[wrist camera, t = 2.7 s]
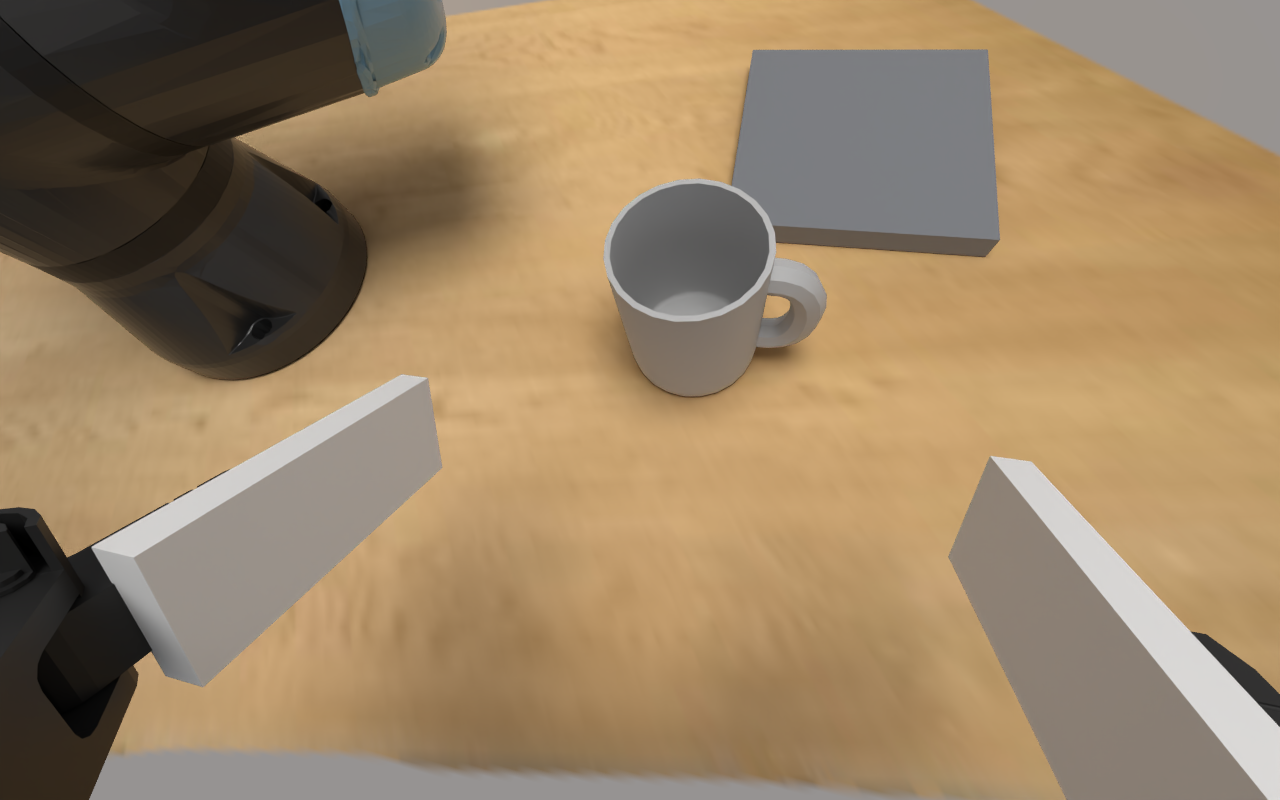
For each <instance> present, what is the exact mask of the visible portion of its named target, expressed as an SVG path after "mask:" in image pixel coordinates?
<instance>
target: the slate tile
mask: <svg viewBox="0 0 1280 800" xmlns="http://www.w3.org/2000/svg"><path fill="white" fill-rule="evenodd" d="M732 186H733V187H735V188H738V189H740V190H742V191H743V192H744V193H746V194H747V195H749V196H750V197H752V198H753V199H754V200H756V201H757V203H758V204H759V205H760V206H761V207H762V209H763V210H764V211H765V212H766V213H767V215H768V217H769V219H770V222H771V224H772V227H773V229H774V232H775V241H776V242H780V243H795V244H809V245H823V246H838V247H852V248H867V249H881V250H895V251H910V252H924V253H939V254H953V255H967V256H982V257H986V255H987V254H988V253H989V252H990V251H991V250H992V248H993V247H994V246H995V245H996V244H997V243H998V241H999V240H1000V234H999V218H998V202H997V187H996V171H995V155H994V139H993V124H992V108H991V92H990V76H989V61H988V50H753V53H752V60H751V66H750V72H749V79H748V85H747V91H746V98H745V104H744V110H743V117H742V123H741V129H740V136H739V142H738V148H737V155H736V161H735V167H734V174H733V180H732Z"/></svg>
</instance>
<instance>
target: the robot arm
mask: <svg viewBox="0 0 1280 800" xmlns="http://www.w3.org/2000/svg"><path fill="white" fill-rule="evenodd" d="M446 34H447V30H446V18H445V13H444V8H443V3H442V0H0V252H2V253H4V254H6V255H9V256H11V257H13V258H15V259H18V260H20V261H22V262H25V263H27V264H29V265H31V266H34V267H36V268H38V269H40V270H42V271H44V272H46V273H48V274H51V275H53V276H55V277H57V278H59V279H61V280H63V281H65V282H67V283H69V284H71V285H73V286H75V287H76V288H78V289H79V290H80V291H81V292H82V293H83V294H85V295H86V296H87V297H88V298H89V299H91V300H92V301H93V302H94V303H95V304H97V305H98V306H99V307H100V308H101V309H103V310H104V311H105V312H106V313H107V314H109V315H110V316H111V317H112V318H113V319H115V320H116V321H117V322H118V323H119V324H121V325H122V326H123V327H124V328H125V329H126V330H128V331H129V332H130V333H131V334H132V335H134V336H135V337H136V338H137V339H138V340H140V341H141V342H142V343H143V344H144V345H146V346H147V347H148V348H149V349H150V350H152V351H153V352H154V353H156V354H157V355H159V356H160V357H162V358H164V359H166V360H167V361H169V362H172V363H174V364H176V365H179V366H181V367H184V368H186V369H189V370H191V371H194V372H196V373H198V374H201V375H203V376H207V377H210V378H215V379H224V380H234V379H244V378H250V377H255V376H259V375H262V374H265V373H268V372H271V371H274V370H276V369H279V368H281V367H283V366H285V365H287V364H289V363H291V362H292V361H294V360H296V359H298V358H299V357H301V356H302V355H304V354H305V353H307V352H308V351H309V350H311V349H312V348H313V347H315V346H316V345H317V344H318V343H319V342H320V341H322V340H323V339H324V338H325V337H326V336H327V335H328V334H329V333H330V332H331V331H332V330H333V329H334V328H335V326H336V325H337V324H338V323H339V322H340V320H341V319H342V318H343V316H344V315H345V314H346V312H347V311H348V309H349V308H350V306H351V304H352V303H353V301H354V299H355V297H356V295H357V293H358V291H359V288H360V285H361V283H362V280H363V276H364V272H365V267H366V257H367V254H366V243H365V238H364V235H363V232H362V229H361V227H360V225H359V224H358V222H357V221H356V219H355V218H354V217H353V216H352V215H351V213H350V212H349V211H348V210H347V209H346V208H345V207H344V206H343V205H342V204H341V203H340V202H339V201H338V200H337V199H336V198H335V197H334V196H333V195H332V194H331V193H330V192H328V191H327V190H326V189H324V188H323V187H322V186H320V185H319V184H317V183H315V182H313V181H312V180H310V179H308V178H306V177H304V176H303V175H301V174H299V173H297V172H295V171H294V170H292V169H290V168H288V167H286V166H284V165H283V164H281V163H279V162H277V161H275V160H274V159H272V158H270V157H268V156H266V155H265V154H263V153H261V152H259V151H257V150H256V149H254V148H252V147H250V146H248V145H247V144H245V143H243V142H241V141H239V140H238V139H236V138H235V137H237V136H239V135H242V134H245V133H248V132H251V131H254V130H257V129H260V128H263V127H266V126H269V125H272V124H275V123H278V122H281V121H284V120H286V119H289V118H292V117H295V116H298V115H301V114H304V113H307V112H310V111H313V110H316V109H319V108H322V107H325V106H328V105H331V104H334V103H336V102H339V101H342V100H345V99H348V98H351V97H354V96H357V95H360V94H363V93H365V94H366V95H367V96H368V97H371V96H375V95H376V94H377V93H378V91H379V88H380V87H383V86H385V85H387V84H390V83H392V82H395V81H397V80H400V79H402V78H405V77H407V76H410V75H412V74H415V73H417V72H420V71H422V70H425V69H427V68H429V67H430V66H431V65H433V64H434V63H435V62H436V61H437V60H438V59H439V57H440V56H441V54H442V52H443V49H444V46H445V42H446ZM441 468H442V463H441V456H440V450H439V444H438V438H437V431H436V425H435V419H434V413H433V406H432V400H431V394H430V388H429V381H428V378H425V377H418V376H410V375H403V374H401V375H400V376H398V377H396V378H394V379H392V380H391V381H389V382H387V383H385V384H383V385H382V386H380V387H378V388H376V389H374V390H373V391H371V392H369V393H367V394H365V395H364V396H362V397H360V398H358V399H356V400H355V401H353V402H351V403H349V404H347V405H346V406H344V407H342V408H340V409H338V410H337V411H335V412H333V413H331V414H329V415H328V416H326V417H324V418H322V419H320V420H319V421H317V422H315V423H313V424H311V425H310V426H308V427H306V428H304V429H302V430H301V431H299V432H297V433H295V434H293V435H292V436H290V437H288V438H286V439H284V440H283V441H281V442H279V443H277V444H275V445H274V446H272V447H270V448H268V449H266V450H265V451H263V452H261V453H259V454H257V455H256V456H254V457H252V458H250V459H248V460H247V461H245V462H243V463H241V464H239V465H238V466H236V467H234V468H232V469H229V470H227V471H224V472H223V473H221V474H219V475H217V476H215V477H214V478H212V479H210V480H208V481H206V482H204V483H203V484H201V485H199V486H197V488H196V489H194V490H190V491H188V492H186V493H185V494H183V495H181V496H179V497H177V498H176V499H174V501H173V502H171V503H167V504H165V505H163V506H161V507H159V508H157V509H156V510H154V511H152V512H150V513H148V514H147V515H145V516H143V517H141V518H139V519H138V520H136V521H134V522H132V523H130V524H129V525H127V526H125V527H123V528H121V529H120V530H118V531H116V532H114V533H112V534H110V535H109V536H107V537H105V538H103V539H101V540H100V541H98V542H96V543H94V544H92V545H91V546H89V547H87V548H85V549H83V550H82V551H80V552H78V553H76V554H74V555H72V556H70V557H68V558H67V557H66V555H65V554H64V552H63V551H62V549H61V547H60V546H59V544H58V542H57V541H56V539H55V538H54V536H53V534H52V533H51V531H50V529H49V528H48V526H47V525H46V523H45V521H44V520H43V518H42V517H41V515H40V514H39V513H38V512H37V511H36V510H35V509H28V508H20V507H18V508H9V509H0V800H89V798H90V796H91V794H92V791H93V789H94V786H95V784H96V782H97V779H98V777H99V774H100V772H101V770H102V767H103V765H104V763H105V760H106V758H107V755H108V753H109V751H110V748H111V746H112V744H113V741H114V739H115V736H116V734H117V732H118V729H119V727H120V724H121V722H122V720H123V717H124V715H125V713H126V710H127V708H128V705H129V703H130V701H131V698H132V696H133V694H134V691H135V689H136V686H137V681H138V672H137V671H136V669H135V668H134V666H133V665H134V664H135V663H137V662H138V661H139V660H140V659H142V658H143V657H144V656H146V655H147V654H148V653H149V652H152V653H153V655H154V657H155V658H156V660H157V662H158V664H159V665H160V667H161V669H162V671H163V672H164V674H165V676H167V677H171V678H174V679H177V680H181V681H184V682H187V683H191V684H194V685H198V686H201V687H204V686H205V685H206V684H207V683H208V682H209V681H210V680H212V679H213V678H214V677H215V676H216V675H217V674H218V673H219V672H220V671H221V670H222V669H224V668H225V667H226V666H227V665H228V664H229V663H230V662H231V661H232V660H233V659H234V658H236V657H237V656H238V655H239V654H240V653H241V652H242V651H243V650H244V649H245V648H246V647H248V646H249V645H250V644H251V643H252V642H253V641H254V640H255V639H256V638H257V637H258V636H260V635H261V634H262V633H263V632H264V631H265V630H266V629H267V628H268V627H269V626H270V625H271V624H273V623H274V622H275V621H276V620H277V619H278V618H279V617H280V616H281V615H282V614H283V613H285V612H286V611H287V610H288V609H289V608H290V607H291V606H292V605H293V604H294V603H295V602H297V601H298V600H299V599H300V598H301V597H302V596H303V595H304V594H305V593H306V592H307V591H309V590H310V589H311V588H312V587H313V586H314V585H315V584H316V583H317V582H318V581H319V580H321V579H322V578H323V577H324V576H325V575H326V574H327V573H328V572H329V571H330V570H331V569H332V568H334V567H335V566H336V565H337V564H338V563H339V562H340V561H341V560H342V559H343V558H344V557H346V556H347V555H348V554H349V553H350V552H351V551H352V550H353V549H354V548H355V547H356V546H358V545H359V544H360V543H361V542H362V541H363V540H364V539H365V538H366V537H367V536H368V535H370V534H371V533H372V532H373V531H374V530H375V529H376V528H377V527H378V526H379V525H380V524H382V523H383V522H384V521H385V520H386V519H387V518H388V517H389V516H390V515H391V514H392V513H393V512H395V511H396V510H397V509H398V508H399V507H400V506H401V505H402V504H403V503H404V502H405V501H407V500H408V499H409V498H410V497H411V496H412V495H413V494H414V493H415V492H416V491H417V490H419V489H420V488H421V487H422V486H423V485H424V484H425V483H426V482H427V481H428V480H429V479H431V478H432V477H433V476H434V475H435V474H436V473H437V472H438V471H439V470H440V469H441ZM948 557H949V559H950V561H951V563H952V565H953V567H954V569H955V571H956V573H957V575H958V577H959V580H960V582H961V584H962V586H963V588H964V590H965V592H966V594H967V596H968V598H969V600H970V602H971V604H972V606H973V608H974V610H975V612H976V614H977V617H978V619H979V621H980V623H981V625H982V627H983V629H984V631H985V633H986V635H987V637H988V639H989V641H990V643H991V645H992V647H993V649H994V651H995V654H996V656H997V658H998V660H999V662H1000V664H1001V666H1002V668H1003V670H1004V672H1005V674H1006V676H1007V678H1008V680H1009V682H1010V684H1011V686H1012V688H1013V690H1014V693H1015V695H1016V697H1017V699H1018V701H1019V703H1020V705H1021V707H1022V709H1023V711H1024V713H1025V715H1026V717H1027V719H1028V721H1029V723H1030V725H1031V727H1032V730H1033V732H1034V734H1035V736H1036V738H1037V740H1038V742H1039V744H1040V746H1041V748H1042V750H1043V752H1044V754H1045V756H1046V758H1047V760H1048V762H1049V764H1050V767H1051V769H1052V771H1053V773H1054V775H1055V777H1056V779H1057V781H1058V783H1059V785H1060V787H1061V789H1062V791H1063V793H1064V795H1065V797H1066V799H1067V800H1280V694H1279V693H1278V692H1277V691H1276V690H1275V689H1274V688H1273V687H1272V686H1271V685H1270V684H1269V683H1268V682H1267V681H1266V680H1265V679H1264V678H1263V677H1262V676H1261V675H1260V674H1259V673H1258V672H1257V671H1256V670H1255V669H1254V668H1252V667H1251V666H1249V665H1248V664H1247V663H1245V662H1244V661H1242V660H1241V659H1240V658H1238V657H1237V656H1236V655H1234V654H1233V653H1231V652H1230V651H1229V650H1227V649H1226V648H1224V647H1223V646H1222V645H1220V644H1219V643H1218V642H1216V641H1215V640H1213V639H1212V638H1211V637H1209V636H1208V635H1206V634H1202V633H1196V632H1191V631H1189V630H1188V629H1187V628H1186V626H1185V625H1184V624H1183V623H1182V622H1181V621H1180V620H1179V619H1178V618H1177V617H1176V616H1175V615H1174V614H1173V613H1172V612H1171V610H1170V609H1169V608H1168V607H1167V606H1166V605H1165V604H1164V603H1163V602H1162V601H1161V600H1160V599H1159V598H1158V597H1157V595H1156V594H1155V593H1154V592H1153V591H1152V590H1151V589H1150V588H1149V587H1148V586H1147V585H1146V584H1145V583H1144V582H1143V581H1142V579H1141V578H1140V577H1139V576H1138V575H1137V574H1136V573H1135V572H1134V571H1133V570H1132V569H1131V568H1130V567H1129V566H1128V565H1127V563H1126V562H1125V561H1124V560H1123V559H1122V558H1121V557H1120V556H1119V555H1118V554H1117V553H1116V552H1115V551H1114V550H1113V548H1112V547H1111V546H1110V545H1109V544H1108V543H1107V542H1106V541H1105V540H1104V539H1103V538H1102V537H1101V536H1100V535H1099V534H1098V532H1097V531H1096V530H1095V529H1094V528H1093V527H1092V526H1091V525H1090V524H1089V523H1088V522H1087V521H1086V520H1085V519H1084V517H1083V516H1082V515H1081V514H1080V513H1079V512H1078V511H1077V510H1076V509H1075V508H1074V507H1073V506H1072V505H1071V504H1070V503H1069V501H1068V500H1067V499H1066V498H1065V497H1064V496H1063V495H1062V494H1061V493H1060V492H1059V491H1058V490H1057V489H1056V488H1055V486H1054V485H1053V484H1052V483H1051V482H1050V481H1049V480H1048V479H1047V478H1046V477H1045V476H1044V475H1043V474H1042V473H1041V472H1040V470H1039V469H1038V468H1037V467H1036V466H1035V465H1034V464H1033V463H1032V462H1030V461H1023V460H1016V459H1009V458H1002V457H994V456H990V457H989V460H988V462H987V464H986V467H985V469H984V472H983V474H982V476H981V479H980V481H979V484H978V486H977V489H976V491H975V493H974V496H973V498H972V501H971V503H970V505H969V508H968V510H967V513H966V515H965V518H964V520H963V522H962V525H961V527H960V530H959V532H958V534H957V537H956V539H955V542H954V544H953V547H952V549H951V551H950V554H949V556H948Z"/></svg>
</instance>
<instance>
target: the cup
mask: <svg viewBox="0 0 1280 800" xmlns="http://www.w3.org/2000/svg"><path fill="white" fill-rule="evenodd" d="M775 255H776V241H775V232H774V229H773V227H772V224H771V222H770V219H769V217H768V215H767V213H766V212H765V211H764V210H763V209H762V207H761V206H760V205H759V204H758V203H757V201H756V200H754V199H753V198H752V197H750V196H749V195H747V194H746V193H744V192H743V191H742V190H740V189H738V188H735V187H733V186H730V185H728V184H725V183H722V182H719V181H712V180H705V179H687V180H677V181H673V182H669V183H666V184H662V185H658V186H656V187H654V188H652V189H650V190H648V191H646V192H644V193H642V194H640V195H639V196H638V197H636V198H635V199H634V200H633V201H631V202H630V203H629V204H628V205H627V206H625V207H624V208H623V209H622V211H621V212H620V213H619V215H618V216H617V217H616V219H615V220H614V221H613V223H612V225H611V227H610V230H609V232H608V235H607V237H606V240H605V248H604V263H605V268H606V272H607V276H608V280H609V283H610V286H611V289H612V292H613V295H614V298H615V301H616V304H617V307H618V310H619V313H620V316H621V319H622V322H623V325H624V328H625V331H626V334H627V337H628V340H629V344H630V347H631V350H632V353H633V356H634V358H635V360H636V362H637V364H638V365H639V367H640V369H641V371H642V372H643V374H644V375H645V376H646V377H647V378H648V379H649V380H650V381H651V382H652V383H653V384H654V385H656V386H658V387H660V388H661V389H663V390H665V391H667V392H669V393H673V394H677V395H681V396H704V395H708V394H712V393H716V392H719V391H720V390H722V389H724V388H726V387H728V386H730V385H732V384H733V383H734V382H735V381H736V380H737V379H738V378H739V377H740V376H741V375H742V374H744V372H745V370H746V369H747V367H748V365H749V364H750V362H751V360H752V357H753V354H754V351H755V349H756V347H762V348H776V347H785V346H789V345H792V344H796V343H798V342H800V341H801V340H803V339H805V338H806V337H808V336H809V335H810V333H811V332H812V331H813V330H814V329H815V328H816V326H817V325H818V323H819V321H820V319H821V318H822V315H823V313H824V311H825V308H826V299H827V294H826V292H825V290H824V288H823V286H822V284H821V282H820V280H819V278H818V276H817V274H816V273H815V272H814V271H813V270H811V269H810V268H809V267H807V266H806V265H805V264H802V263H799V262H796V261H792V260H789V259H782V258H775ZM767 295H771V296H780V297H783V298H786V299H788V300H789V301H790V309H789V311H788V312H787V313H786V314H784V315H783V316H781V317H778V318H762V317H763V312H764V307H765V302H766V298H767Z"/></svg>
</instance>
